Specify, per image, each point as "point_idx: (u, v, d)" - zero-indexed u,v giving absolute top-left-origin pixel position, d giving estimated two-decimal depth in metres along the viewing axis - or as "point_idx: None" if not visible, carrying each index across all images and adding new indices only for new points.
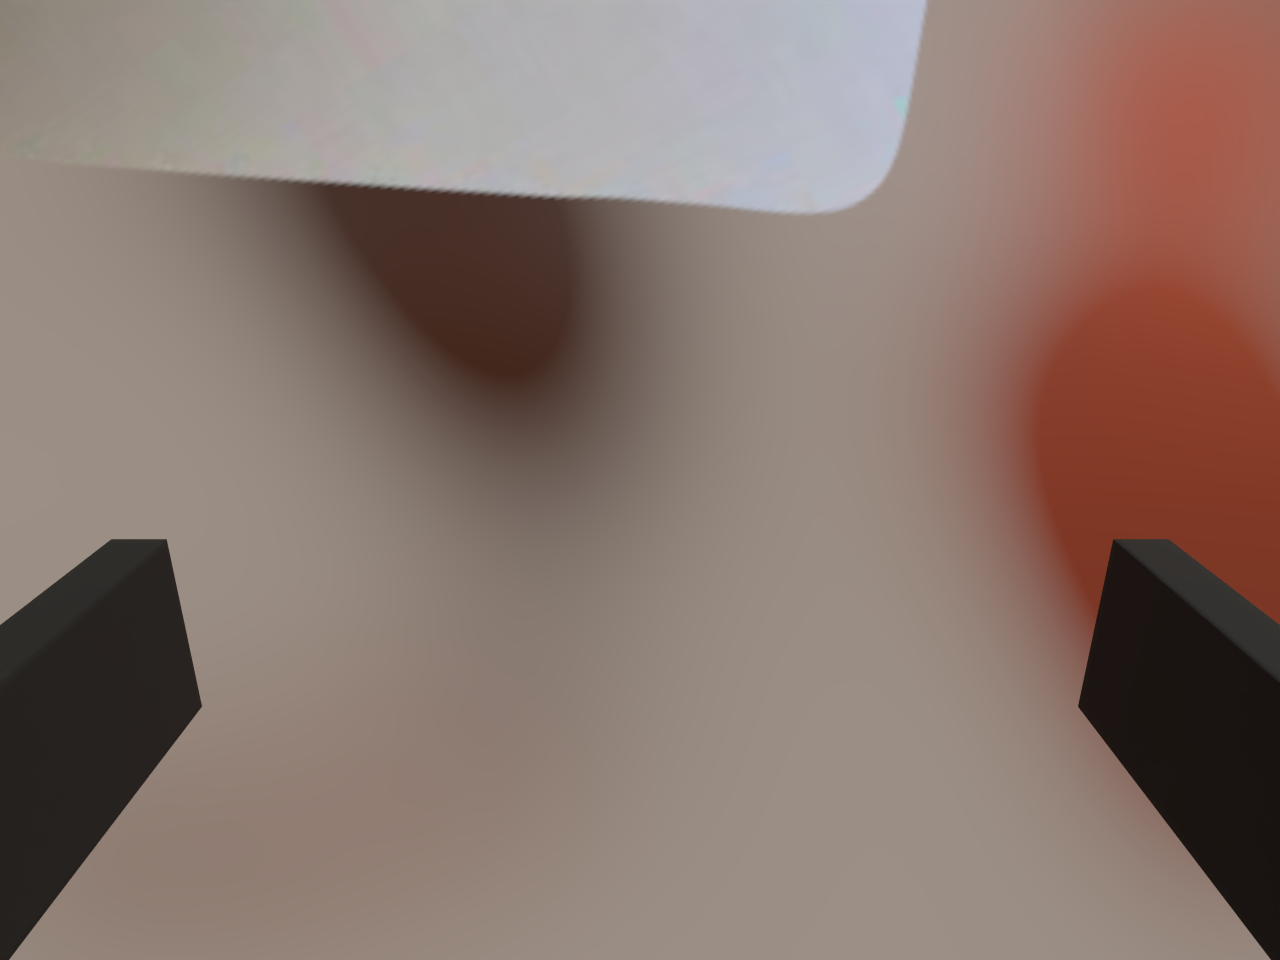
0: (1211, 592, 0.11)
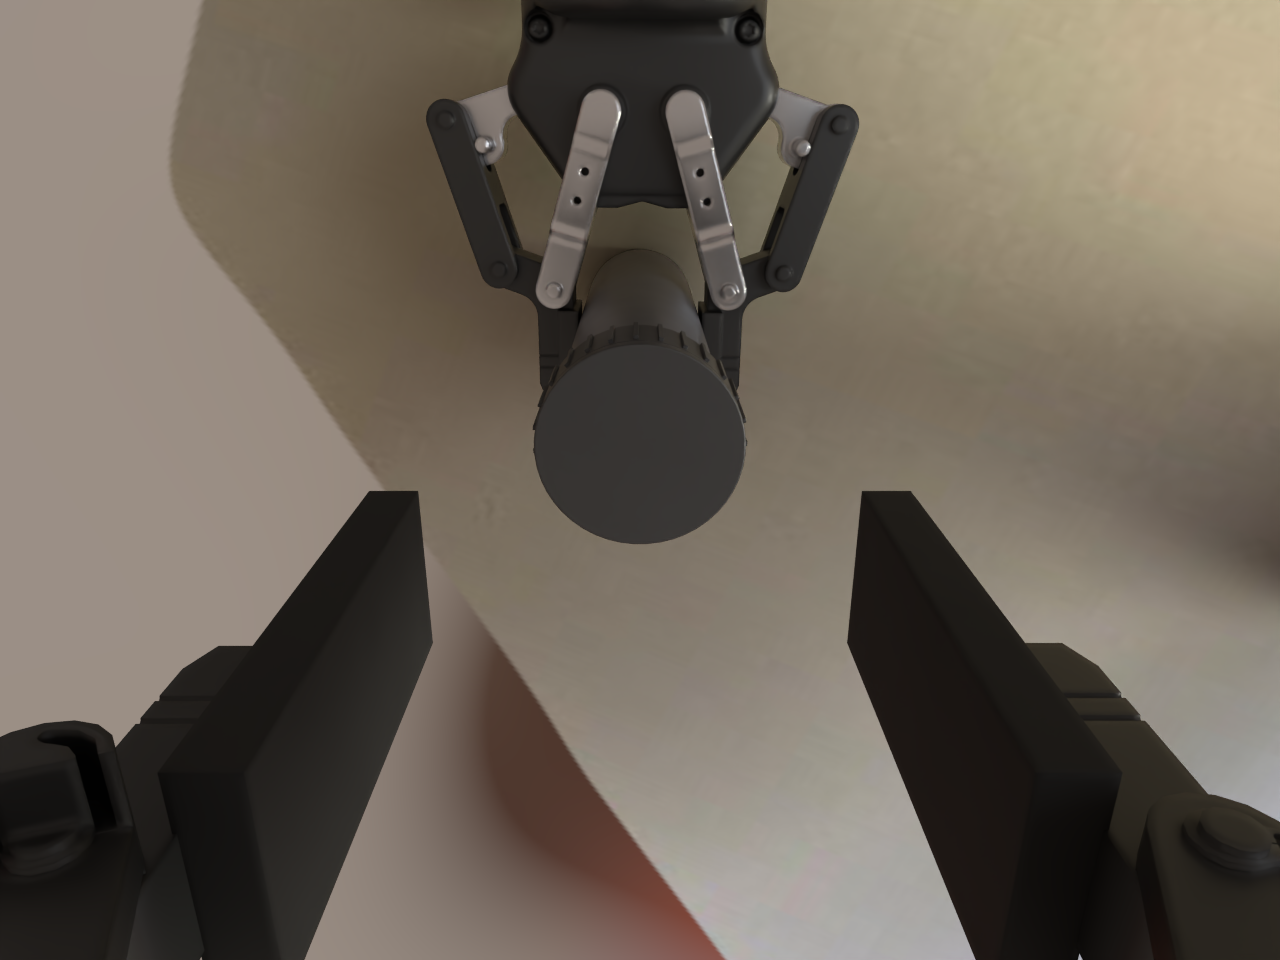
0: (919, 531, 0.12)
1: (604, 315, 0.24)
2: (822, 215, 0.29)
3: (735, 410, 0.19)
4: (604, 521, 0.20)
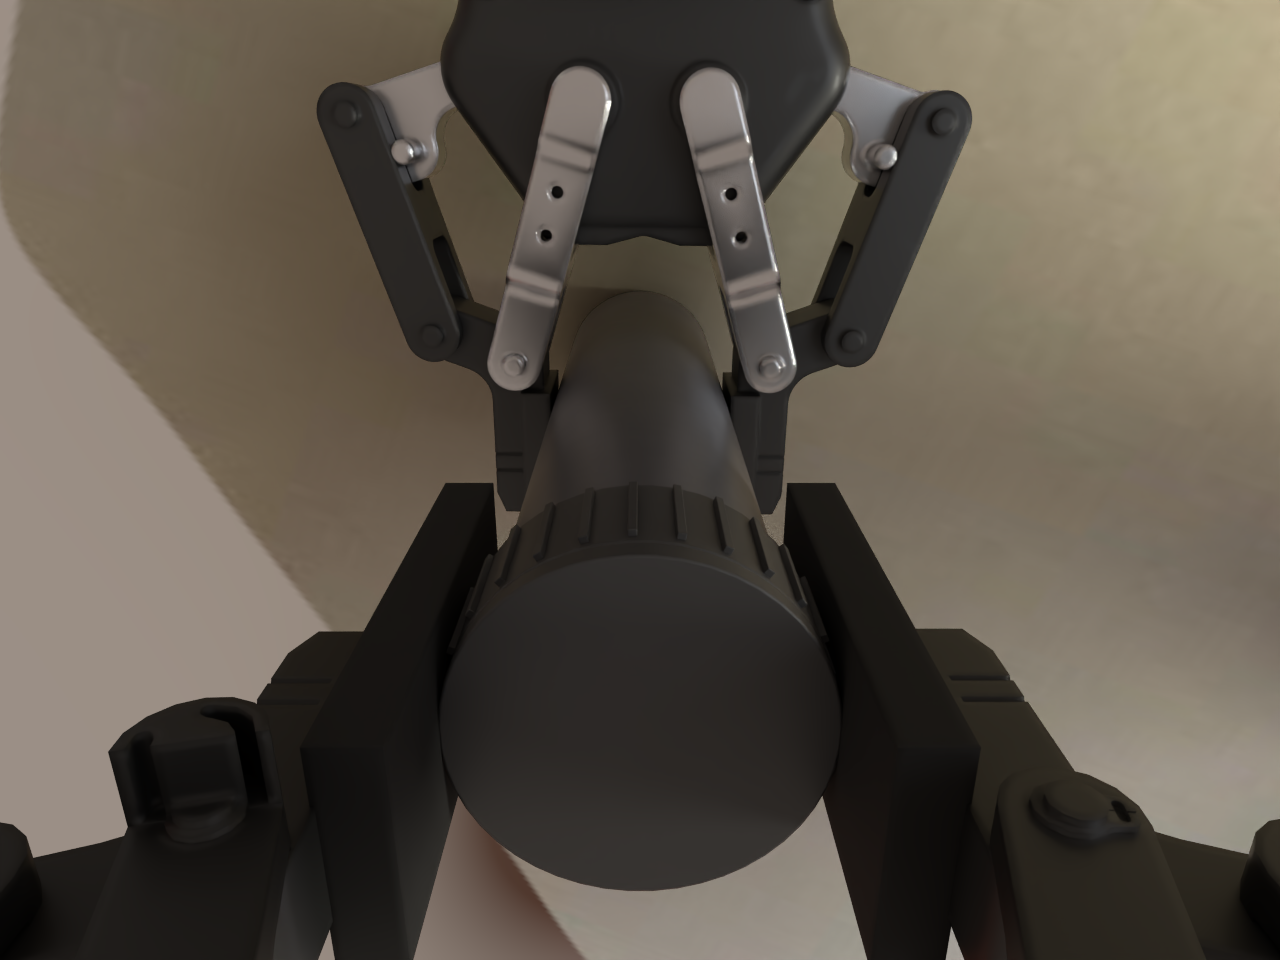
0: (835, 521, 0.13)
1: (582, 431, 0.15)
2: (911, 256, 0.19)
3: (825, 672, 0.10)
4: (574, 855, 0.11)
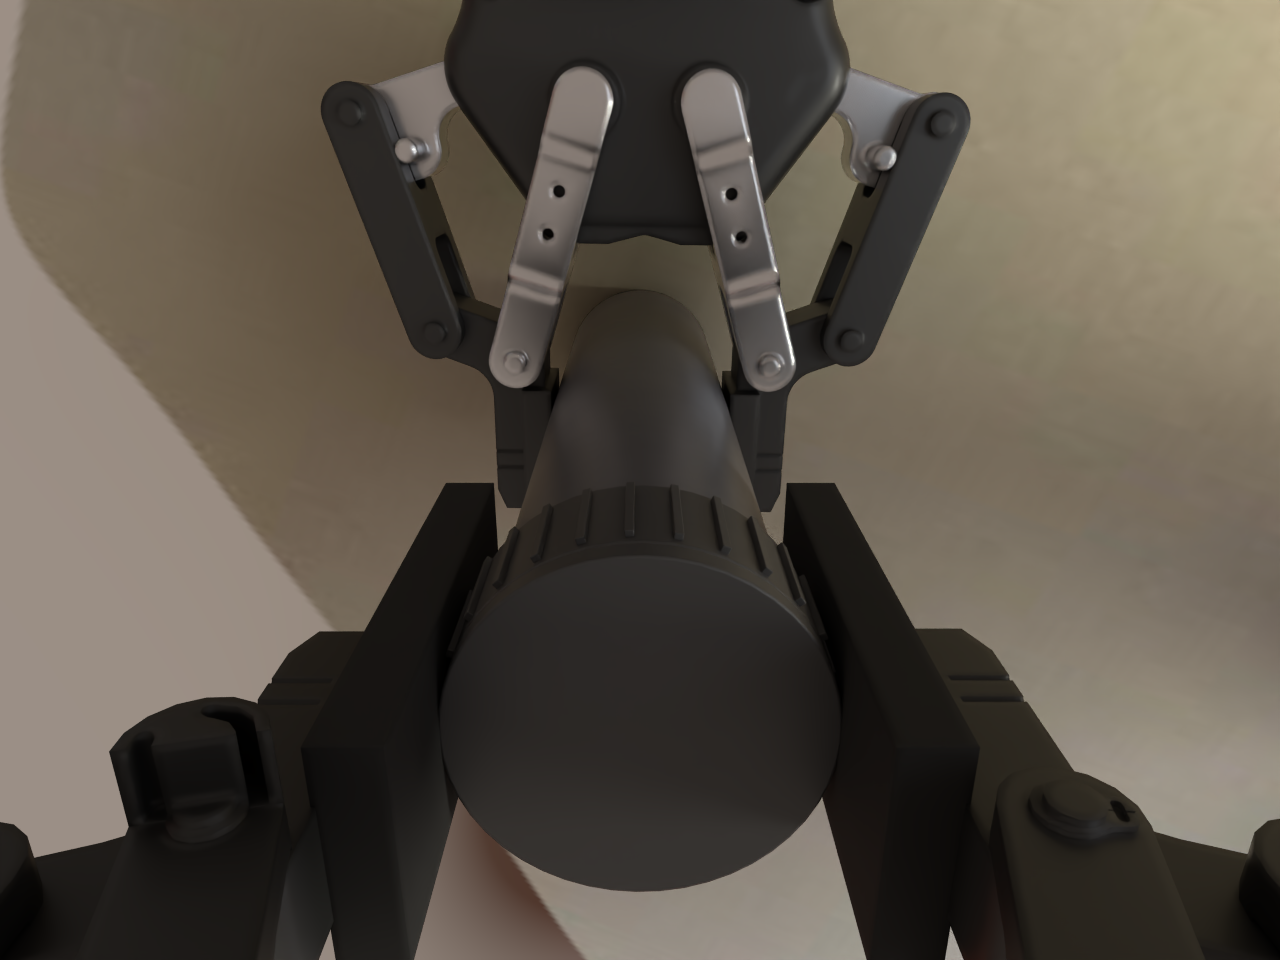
0: (834, 521, 0.13)
1: (583, 428, 0.15)
2: (909, 257, 0.19)
3: (505, 607, 0.10)
4: (804, 755, 0.10)
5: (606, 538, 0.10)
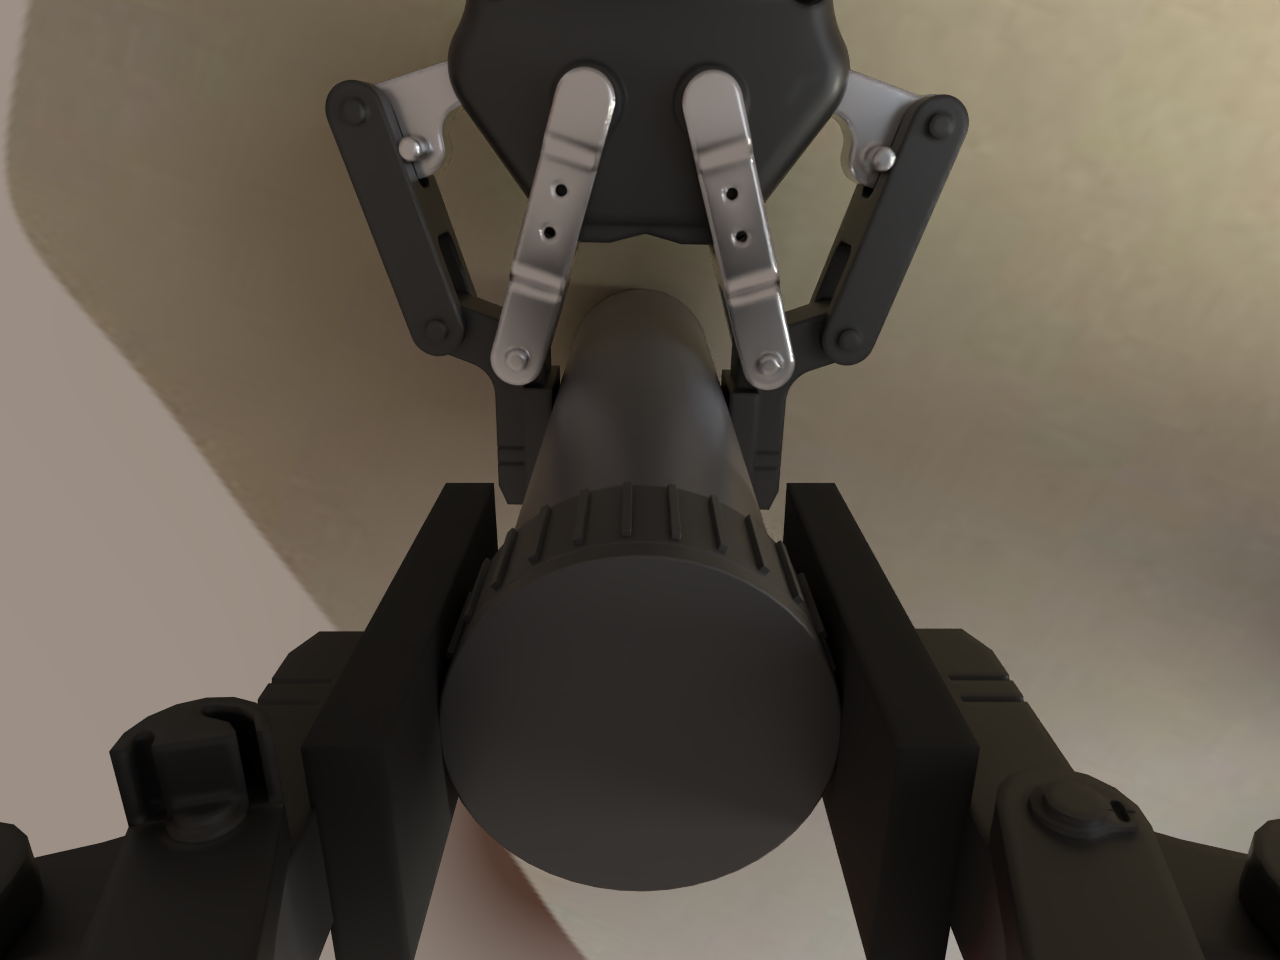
0: (834, 521, 0.13)
1: (584, 424, 0.15)
2: (908, 257, 0.20)
3: (543, 866, 0.11)
4: (608, 591, 0.10)
5: None
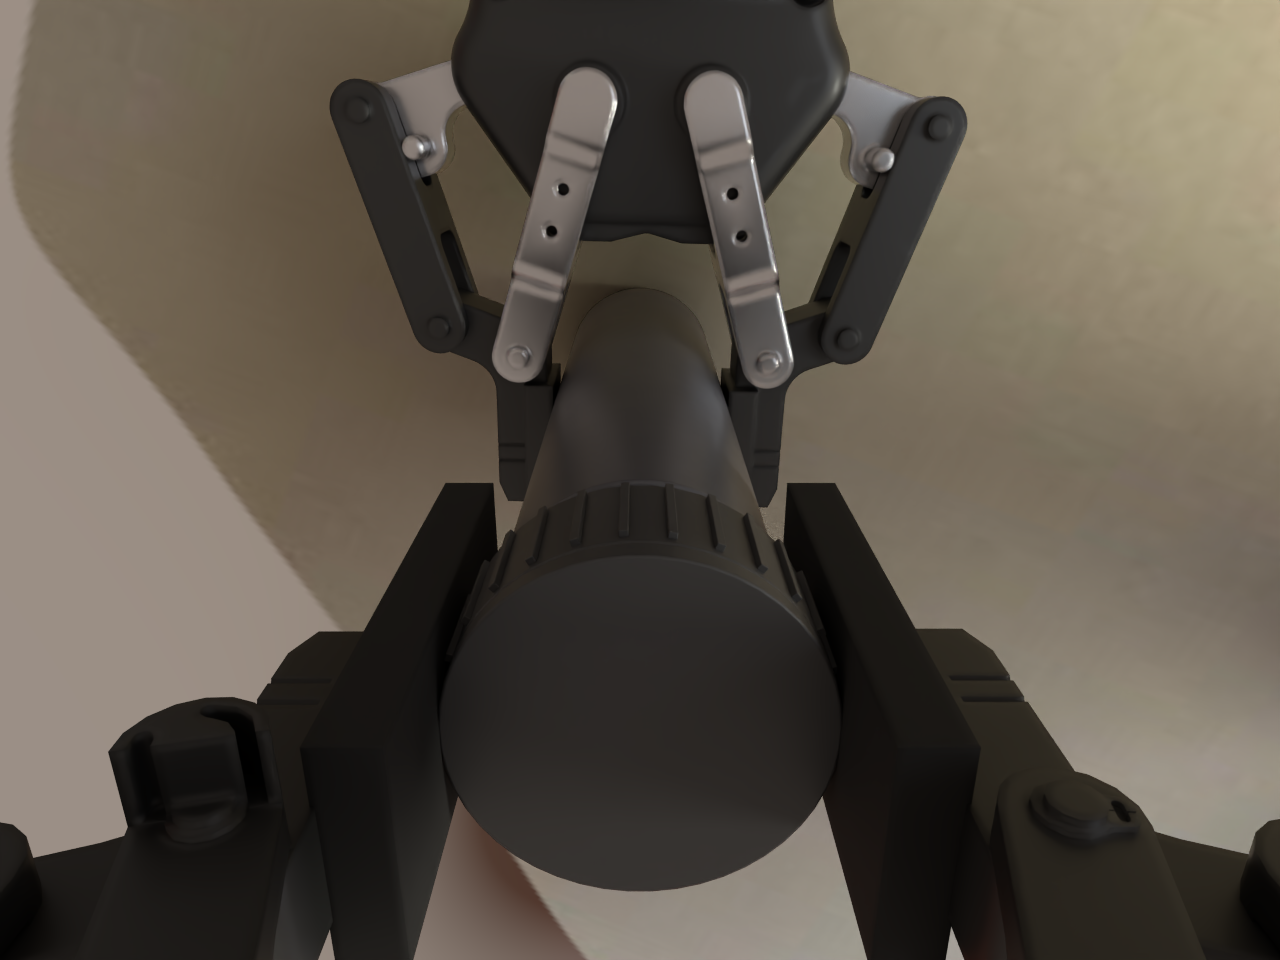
0: (835, 521, 0.13)
1: (586, 421, 0.15)
2: (906, 257, 0.20)
3: (825, 778, 0.11)
4: (496, 800, 0.11)
5: None
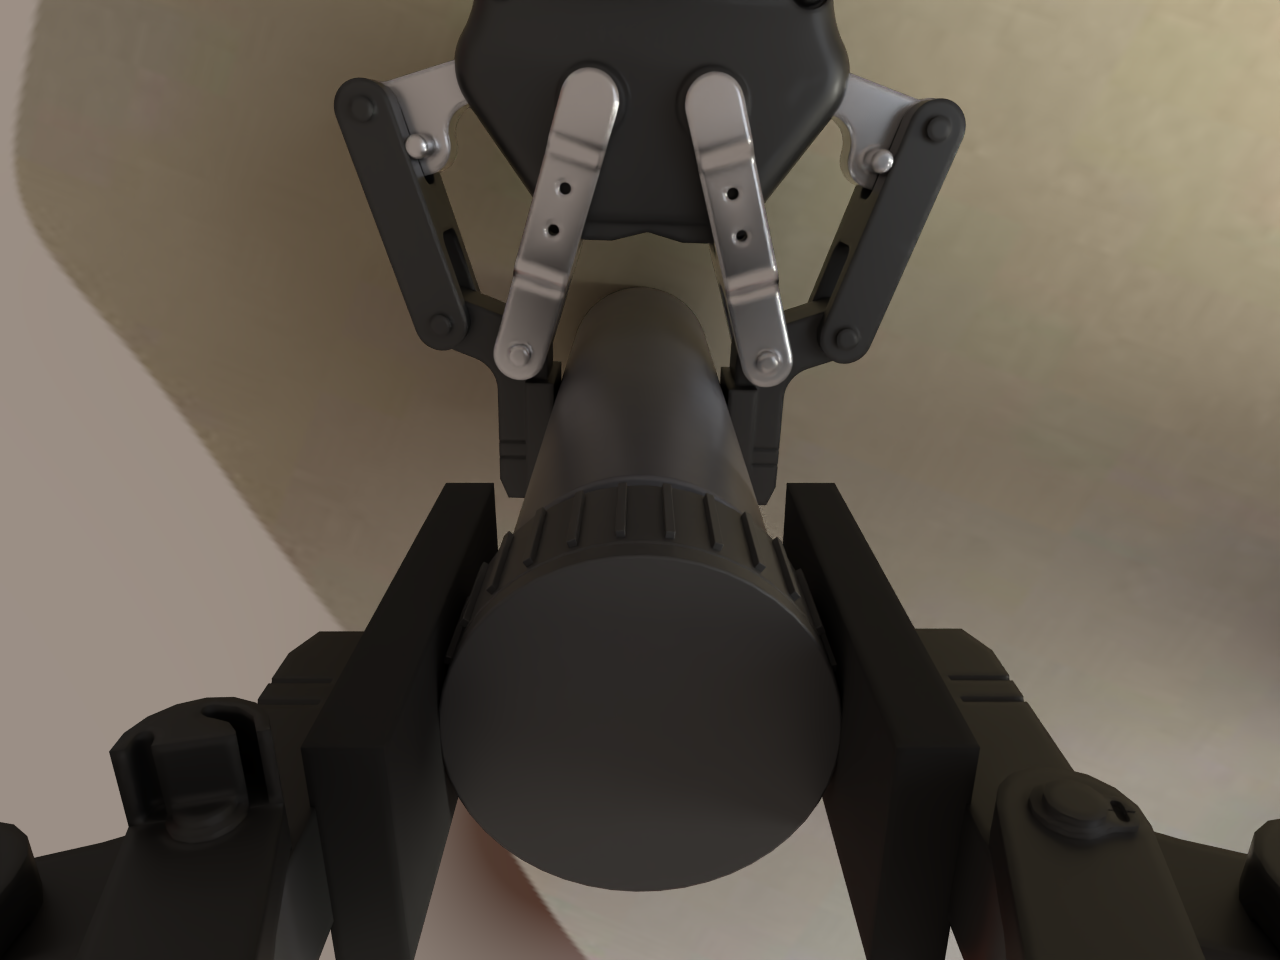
0: (834, 521, 0.13)
1: (587, 417, 0.16)
2: (905, 258, 0.20)
3: (629, 563, 0.10)
4: (753, 830, 0.11)
5: (738, 558, 0.10)
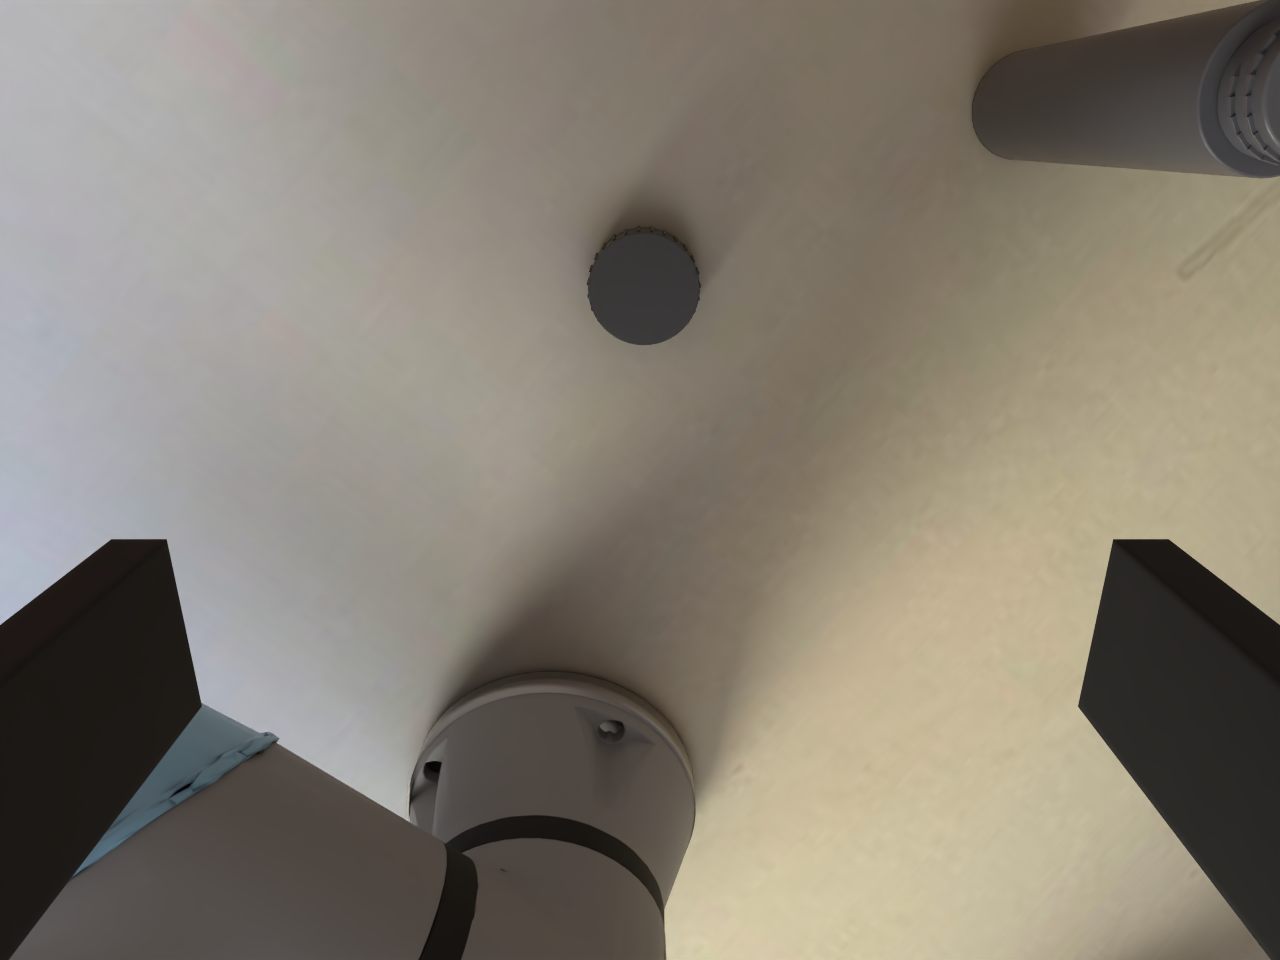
0: (1212, 592, 0.11)
1: None
2: None
3: (641, 235, 0.37)
4: (676, 322, 0.38)
5: (670, 238, 0.37)
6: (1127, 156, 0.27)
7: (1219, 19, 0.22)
